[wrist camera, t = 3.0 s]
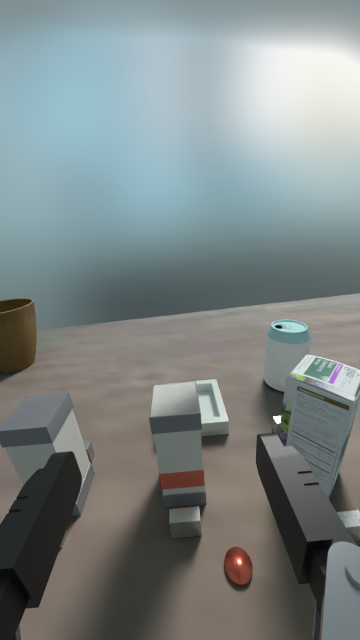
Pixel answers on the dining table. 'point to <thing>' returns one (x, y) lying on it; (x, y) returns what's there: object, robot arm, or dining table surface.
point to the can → (284, 350)
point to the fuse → (45, 438)
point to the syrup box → (320, 414)
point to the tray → (211, 409)
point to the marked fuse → (178, 443)
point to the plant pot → (17, 334)
